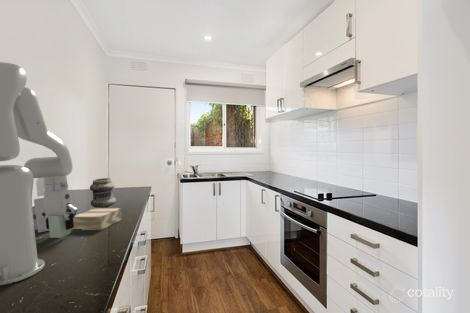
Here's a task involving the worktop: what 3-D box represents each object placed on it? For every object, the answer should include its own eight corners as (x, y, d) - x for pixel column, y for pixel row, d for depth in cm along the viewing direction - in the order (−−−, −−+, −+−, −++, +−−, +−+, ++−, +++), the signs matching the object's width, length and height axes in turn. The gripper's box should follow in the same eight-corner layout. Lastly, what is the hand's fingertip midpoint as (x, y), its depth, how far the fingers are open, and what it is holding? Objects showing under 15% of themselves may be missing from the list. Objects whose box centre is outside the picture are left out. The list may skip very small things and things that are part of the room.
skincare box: (54, 230, 106) (51, 196, 105) (36, 233, 103) (33, 199, 102) (55, 224, 113) (52, 193, 112) (39, 227, 110) (36, 195, 109)
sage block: (60, 237, 96) (58, 215, 96) (50, 237, 97) (47, 215, 97) (71, 233, 101) (69, 212, 101) (61, 232, 102) (59, 212, 102)
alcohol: (35, 214, 133) (29, 160, 130) (51, 209, 141) (46, 158, 139) (47, 215, 130) (41, 159, 128) (62, 210, 138) (57, 158, 136)
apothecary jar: (97, 216, 123) (94, 181, 122) (87, 213, 131) (84, 180, 129) (120, 210, 133) (118, 178, 132) (110, 207, 140) (107, 176, 139)
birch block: (101, 230, 103) (100, 217, 103) (73, 230, 106) (71, 216, 105) (122, 220, 117) (121, 207, 116) (96, 219, 119) (95, 207, 119)
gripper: (81, 185, 100) (85, 225, 101) (47, 185, 103) (51, 224, 105) (66, 189, 93) (70, 232, 94) (29, 189, 96) (34, 231, 97)
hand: (60, 228), depth 99 cm, fingers open, 9 cm apart
